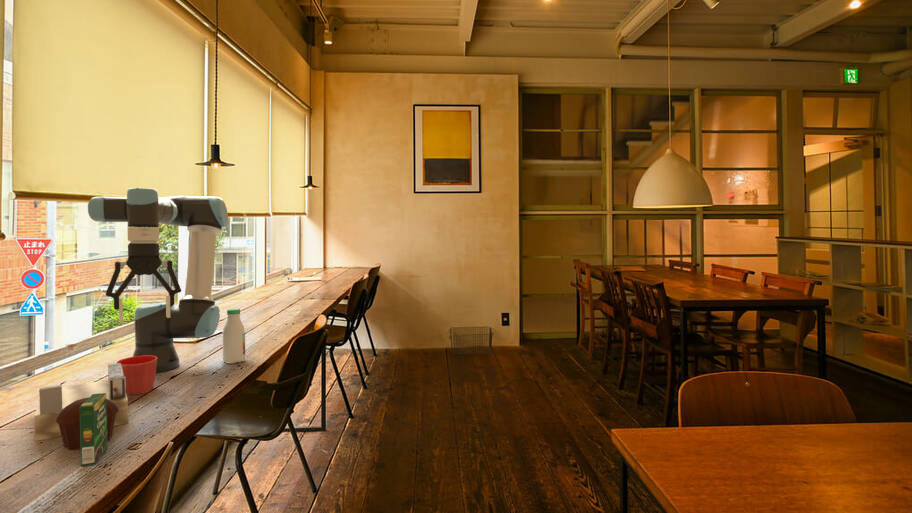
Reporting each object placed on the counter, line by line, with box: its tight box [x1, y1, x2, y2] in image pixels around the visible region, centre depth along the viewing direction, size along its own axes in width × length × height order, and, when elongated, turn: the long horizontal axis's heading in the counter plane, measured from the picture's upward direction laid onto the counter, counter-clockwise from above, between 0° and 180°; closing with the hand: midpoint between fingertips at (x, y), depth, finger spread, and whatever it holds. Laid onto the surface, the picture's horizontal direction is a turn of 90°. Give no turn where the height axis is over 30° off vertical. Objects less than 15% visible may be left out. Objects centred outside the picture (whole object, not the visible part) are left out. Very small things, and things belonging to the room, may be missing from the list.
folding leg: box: [107, 363, 127, 399], centre depth 130 cm, size 18×4×5 cm, turn 38°
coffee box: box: [80, 393, 109, 467], centre depth 104 cm, size 8×3×13 cm, turn 20°
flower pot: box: [116, 355, 157, 395], centre depth 148 cm, size 11×11×10 cm
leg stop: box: [39, 384, 63, 415], centre depth 114 cm, size 4×2×6 cm, turn 127°
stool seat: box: [34, 379, 129, 442], centre depth 127 cm, size 18×23×6 cm
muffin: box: [56, 397, 119, 451], centre depth 112 cm, size 12×11×10 cm
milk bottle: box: [222, 308, 246, 363], centre depth 182 cm, size 8×8×20 cm
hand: (145, 319), depth 138 cm, fingers open, 11 cm apart
